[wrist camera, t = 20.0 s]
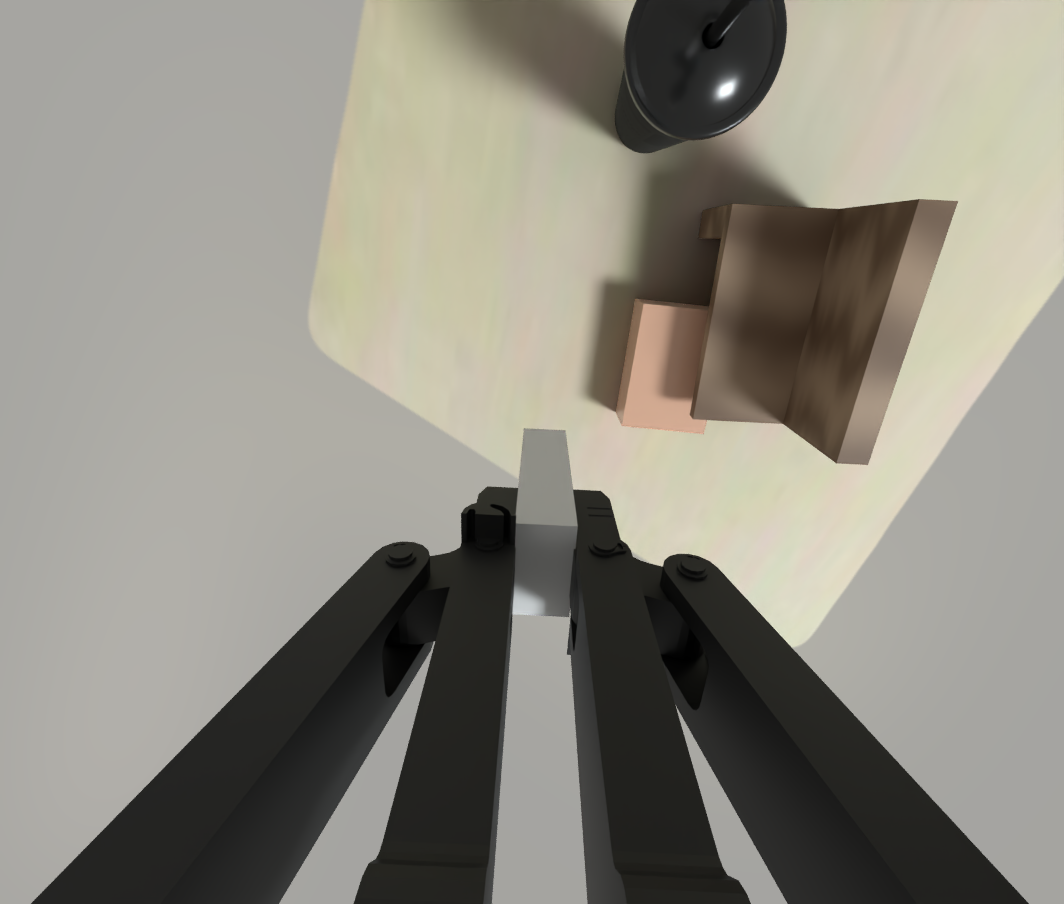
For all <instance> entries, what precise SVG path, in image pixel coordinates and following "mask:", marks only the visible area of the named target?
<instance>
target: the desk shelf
mask: <svg viewBox="0 0 1064 904" xmlns="http://www.w3.org/2000/svg"><path fill="white" fill-rule="evenodd" d="M957 203H958V201H943V200H923V199H918V200H910V201H902V202H893V203H885V204H877V205H869V206H860V207H852V208H844V209H827V208H807V207H787V206H767V205H748V204H729V205H725V206H720V207H715V208H711V209H706V210H703V212H702V218H701V225H700V231H699V237H698V238H706V239H721V243H720V249H719V254H718V260H717V266H716V271H715V277H714V282H713V288H712V293H711V299H710V304H709V310H708V316H707V321H706V327H705V332H704V338H703V343H702V349H701V354H700V360H699V366H698V371H697V377H696V382H695V388H694V393H693V399H692V404H691V410H690V416H691V417H692V419H697V420H717V421H737V422H758V423H778V424H784V425H785V426H787V427H788V428H789V429H791V430H792V431H794V432H795V433H796V434H798V435H799V436H800V437H802V438H803V439H804V440H806V441H807V442H808V443H810V444H811V445H812V446H814V447H815V448H816V449H818V450H819V451H821V452H822V453H823V454H825V455H826V456H827V457H829V458H830V459H831V460H833V461H834V462H835V463H842V464H862V465H868V463H869V460H870V457H871V454H872V451H873V448H874V445H875V442H876V439H877V436H878V433H879V431H880V428H881V425H882V422H883V419H884V416H885V413H886V410H887V407H888V404H889V401H890V398H891V396H892V393H893V390H894V387H895V384H896V381H897V378H898V375H899V372H900V369H901V366H902V363H903V360H904V358H905V355H906V352H907V349H908V346H909V343H910V340H911V337H912V334H913V331H914V328H915V325H916V323H917V320H918V317H919V314H920V311H921V308H922V305H923V302H924V299H925V296H926V293H927V290H928V287H929V285H930V282H931V279H932V276H933V273H934V270H935V267H936V264H937V261H938V258H939V255H940V252H941V250H942V247H943V244H944V241H945V238H946V235H947V232H948V229H949V226H950V223H951V220H952V217H953V214H954V212H955V209H956V206H957Z"/></svg>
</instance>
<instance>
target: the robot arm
mask: <svg viewBox="0 0 1064 904" xmlns="http://www.w3.org/2000/svg"><path fill="white" fill-rule="evenodd" d="M461 534H462V543H461V547H460V548H458V549H457V550H455V551H452V552H450V553H446V554H441V555H435V556H430V555H429V551H428V550H427V549H426V548H425V547H424V546H423V545H420V544H417V543H414V542H397V543H392V544H389V545H387V546H384V547H382V548H381V549H379V550H378V551H376V552H375V553H374V554H373V555H372V556H371V557H370V558H369V559H368V560H367V561H366V562H365V563H364V564H363V566H362V567H361V568H360V569H359V570H358V571H357V572H356V573H355V574H354V575H353V576H352V577H351V578H350V579H349V580H348V581H347V582H346V583H345V584H344V585H343V586H342V587H341V588H340V589H339V590H338V591H337V592H336V593H335V594H334V595H333V596H332V597H331V598H330V599H329V600H328V601H327V602H326V603H325V604H324V605H323V606H322V607H321V608H320V609H319V610H318V611H317V612H316V613H315V615H313V616H312V617H311V619H310V620H309V621H308V622H307V623H306V624H305V625H304V626H303V627H302V628H301V629H300V630H299V631H298V632H297V633H296V634H295V635H294V636H293V637H292V638H291V639H290V640H289V641H288V642H287V643H286V644H285V645H284V646H283V647H282V648H281V649H280V650H279V651H278V652H277V653H276V654H275V655H274V656H273V657H272V658H271V659H270V660H269V661H268V662H267V664H265V666H263V667H262V669H261V670H260V671H259V672H258V673H257V674H256V675H255V676H254V677H253V678H252V679H251V680H250V681H249V682H248V683H247V684H246V685H245V686H244V687H243V688H242V689H241V690H240V691H239V692H238V693H237V694H236V695H235V696H234V697H233V698H232V699H231V700H230V701H229V702H228V703H227V704H226V705H225V706H224V707H223V708H222V709H221V711H220V712H218V713H217V714H216V715H215V717H213V718H212V720H211V721H210V722H209V723H208V724H207V725H206V726H205V727H204V728H203V729H202V730H201V731H200V732H199V733H198V734H197V735H196V736H195V737H194V738H193V739H192V740H191V741H190V742H189V743H188V744H187V745H186V746H185V747H184V748H183V749H182V750H181V751H180V752H179V753H178V754H177V755H176V756H175V757H174V758H173V759H172V760H171V761H170V762H169V763H168V764H167V765H166V766H165V768H164V769H163V770H162V771H161V772H160V773H159V774H158V775H157V776H156V777H155V778H154V779H153V780H152V781H151V782H150V783H149V784H148V785H147V786H146V787H145V788H144V789H143V790H142V791H141V792H140V793H139V794H138V795H137V796H136V797H135V798H134V799H133V800H132V801H131V802H130V803H129V804H128V805H127V806H126V807H125V809H123V810H122V812H121V813H119V814H118V815H117V816H116V818H115V819H114V820H113V821H112V822H111V823H110V824H109V825H108V826H107V827H106V828H105V829H104V830H103V831H102V832H101V833H100V834H99V835H98V836H97V837H96V838H95V839H94V840H93V841H92V842H91V843H90V844H89V845H88V846H87V847H86V848H85V849H84V850H83V851H82V852H81V853H80V854H79V855H78V856H77V857H76V858H75V859H74V860H73V861H72V863H70V864H69V865H68V866H67V867H66V869H64V871H63V872H62V873H61V874H60V875H59V876H58V877H57V878H56V879H55V880H54V881H53V882H52V883H51V884H50V885H49V886H48V887H47V888H46V889H45V890H44V891H43V892H42V893H41V894H40V895H39V896H38V897H37V898H36V899H35V900H34V901H33V902H32V903H31V904H279V902H280V901H281V899H282V897H283V896H284V894H285V892H286V891H287V889H288V887H289V886H290V884H291V882H292V881H293V879H294V877H295V876H296V874H297V872H298V871H299V869H300V867H301V866H302V864H303V862H304V861H305V859H306V857H307V856H308V854H309V852H310V851H311V849H312V847H313V846H314V844H315V842H316V841H317V839H318V837H319V836H320V834H321V832H322V831H323V829H324V827H325V826H326V824H327V822H328V821H329V819H330V817H331V816H332V814H333V812H334V811H335V809H336V807H337V806H338V804H339V802H340V801H341V799H342V797H343V796H344V794H345V792H346V791H347V789H348V787H349V786H350V784H351V782H352V780H353V779H354V777H355V776H356V774H357V772H358V771H359V769H360V767H361V765H362V764H363V762H364V761H365V759H366V757H367V756H368V754H369V752H370V751H371V749H372V747H373V745H374V744H375V742H376V741H377V739H378V737H379V736H380V734H381V732H382V731H383V729H384V727H385V726H386V724H387V722H388V721H389V719H390V717H391V716H392V714H393V712H394V711H395V709H396V707H397V706H398V704H399V702H400V701H401V699H402V697H403V696H404V694H405V692H406V691H407V689H408V687H409V686H410V684H411V682H412V681H413V679H414V677H415V676H416V674H417V672H418V671H419V669H420V667H421V666H422V664H423V662H424V661H425V659H426V657H427V656H428V654H429V652H430V651H431V648H432V645H433V641H435V645H434V649H433V653H432V657H431V660H430V664H429V668H428V672H427V676H426V679H425V684H424V687H423V691H422V695H421V698H420V702H419V706H418V710H417V713H416V717H415V721H414V725H413V729H412V733H411V736H410V740H409V744H408V748H407V751H406V755H405V759H404V763H403V767H402V771H401V774H400V778H399V782H398V786H397V789H396V793H395V797H394V801H393V805H392V808H391V812H390V816H389V820H388V823H387V827H386V832H385V835H384V839H383V842H382V846H381V849H380V852H379V854H378V856H377V858H376V859H375V860H373V861H372V862H370V863H369V864H368V866H367V868H366V870H365V872H364V875H363V876H362V880H361V882H360V885H359V889H358V892H357V895H356V898H355V901H354V904H492V892H493V878H494V865H495V851H496V837H497V824H498V810H499V796H500V782H501V769H502V755H503V742H504V728H505V714H506V701H507V700H506V699H507V687H508V674H509V660H510V647H511V646H510V645H511V633H512V614H519V615H541V616H561V617H569V612H570V610H571V618H570V628H569V639H568V649H567V654H568V655H571V665H572V679H573V694H574V709H575V724H576V738H577V753H578V767H579V783H580V797H581V812H582V826H583V842H584V856H585V869H586V870H585V871H586V885H587V900H588V904H751V903H750V901H749V898H748V895H747V894H746V892H745V890H744V889H743V887H742V885H741V884H740V882H739V881H738V880H736V879H734V878H732V877H730V876H728V875H727V874H726V872H725V870H724V869H723V867H722V864H721V861H720V859H719V856H718V852H717V848H716V845H715V841H714V838H713V835H712V831H711V828H710V824H709V821H708V817H707V814H706V810H705V807H704V804H703V800H702V796H701V793H700V789H699V786H698V782H697V779H696V776H695V772H694V769H693V765H692V762H691V758H690V755H689V751H688V748H687V744H686V741H685V737H684V734H683V730H682V727H681V723H680V720H679V716H678V713H677V709H676V706H677V708H678V710H679V712H680V713H681V715H682V717H683V719H684V721H685V722H686V724H687V726H688V728H689V729H690V731H691V733H692V735H693V737H694V738H695V740H696V742H697V744H698V745H699V747H700V749H701V751H702V752H703V754H704V756H705V758H706V760H707V761H708V763H709V765H710V767H711V768H712V770H713V772H714V774H715V775H716V777H717V779H718V781H719V782H720V784H721V786H722V788H723V790H724V792H725V793H726V795H727V797H728V798H729V800H730V802H731V804H732V806H733V807H734V809H735V811H736V813H737V815H738V816H739V818H740V820H741V822H742V823H743V825H744V827H745V829H746V831H747V832H748V834H749V836H750V838H751V839H752V841H753V843H754V845H755V846H756V848H757V850H758V852H759V854H760V855H761V857H762V859H763V861H764V862H765V864H766V866H767V868H768V870H769V871H770V873H771V875H772V877H773V878H774V880H775V882H776V884H777V886H778V887H779V889H780V891H781V893H782V894H783V896H784V898H785V900H786V901H787V903H788V904H1029V903H1028V902H1027V901H1026V900H1025V899H1024V898H1023V897H1022V896H1021V895H1020V894H1019V893H1018V891H1017V890H1016V889H1015V888H1014V887H1013V886H1012V885H1011V884H1010V883H1009V882H1008V881H1007V880H1006V879H1005V877H1004V876H1003V875H1002V874H1001V873H1000V872H999V871H998V870H997V869H996V868H995V867H994V866H993V864H991V862H990V861H989V860H988V859H987V858H986V857H985V856H984V855H983V854H982V853H981V852H980V850H979V849H978V848H977V847H976V846H975V845H974V844H973V843H972V842H971V841H970V840H969V839H968V838H967V836H966V835H965V834H964V833H963V832H962V831H961V830H960V829H959V828H958V827H957V826H956V825H955V823H954V822H953V821H952V820H951V819H950V818H949V817H948V816H947V815H946V814H945V813H944V812H943V811H942V809H941V808H940V807H939V806H938V805H937V804H936V803H935V802H934V801H933V800H932V799H931V798H930V797H929V795H928V794H927V793H926V792H925V791H924V790H923V789H922V788H921V787H920V786H919V785H918V784H917V782H915V780H914V779H913V778H912V777H911V776H910V775H909V774H908V773H907V772H906V771H905V769H903V767H902V766H901V765H900V764H899V763H898V762H897V761H896V760H895V759H894V758H893V757H892V755H891V754H889V752H888V751H887V750H886V749H885V748H884V747H883V746H882V745H881V744H880V743H879V742H878V741H877V739H876V738H875V737H874V736H873V735H872V734H871V733H870V732H869V731H868V730H867V728H866V727H865V726H864V725H863V724H862V723H861V722H860V721H859V720H858V719H857V718H856V717H855V716H854V714H853V713H852V712H851V711H850V710H849V709H848V708H847V707H846V706H845V705H844V704H843V703H842V701H840V699H839V698H838V697H837V696H836V695H835V694H834V693H833V692H832V691H831V690H830V689H829V687H828V686H827V685H826V684H825V683H824V682H823V681H822V680H821V679H820V678H819V677H818V676H817V674H816V673H815V672H814V671H813V670H812V669H811V668H810V667H809V666H808V665H807V664H806V663H805V662H804V661H803V659H802V658H801V657H800V656H799V655H798V654H797V653H796V652H795V651H794V650H793V649H792V648H791V646H790V645H789V644H788V643H787V642H786V641H785V640H784V639H783V638H782V637H781V636H780V635H779V633H778V632H777V631H776V630H775V629H774V628H773V627H772V626H771V625H770V624H769V623H768V622H767V621H766V619H765V618H764V617H763V616H762V615H761V614H760V613H759V612H758V611H757V610H756V609H755V608H754V606H753V605H752V604H751V603H750V602H749V601H748V600H747V599H746V598H745V597H744V596H743V595H742V594H741V592H740V591H739V590H738V589H737V588H736V587H735V586H734V585H733V584H732V583H731V582H730V581H729V580H728V578H727V577H726V576H725V575H724V574H723V573H722V572H721V571H720V570H719V569H718V568H717V567H716V566H715V565H714V564H712V563H711V562H710V561H708V560H706V559H703V558H701V557H699V556H695V555H691V554H676V555H672V556H669V557H668V558H667V559H666V560H665V561H664V565H663V567H661V566H657V565H653V564H649V563H646V562H643V561H640V560H638V559H636V558H634V557H633V556H632V553H631V550H630V548H629V547H628V545H627V544H626V543H624V542H623V541H621V540H620V536H619V532H618V529H617V525H616V521H615V518H614V514H613V510H612V506H611V503H610V499H609V498H608V497H607V496H606V495H605V494H603V493H602V492H601V491H590V490H573V486H572V478H571V470H570V463H569V455H568V447H567V439H566V431H565V430H545V429H525V428H524V433H523V444H522V454H521V465H520V475H519V486H518V488H505V487H504V488H503V487H486V488H485V489H484V490H483V491H482V492H481V493H480V494H479V496H478V499H477V503H475V504H471V505H470V506H468V507H466V508H465V509H464V510H463V512H462V513H461ZM675 705H676V706H675Z"/></svg>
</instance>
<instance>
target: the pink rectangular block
mask: <svg viewBox="0 0 1064 904" xmlns="http://www.w3.org/2000/svg"><path fill="white" fill-rule="evenodd" d="M708 310H709V306H701V305H692V304H682V303H672V302H663V301H653V300H644V299H635V303H634V309H633V315H632V320H631V326H630V332H629V338H628V344H627V350H626V355H625V361H624V367H623V373H622V379H621V384H620V390H619V396H618V402H617V408H616V414H617V416H618V418H619V421H620V423H621V425H622V426H628V427H638V428H648V429H658V430H668V431H679V432H689V433H699V434H704V430H705V426H706V422H707V420H697V419H692V417H691V416H690V410H691V404H692V399H693V393H694V388H695V382H696V377H697V371H698V366H699V360H700V354H701V349H702V343H703V338H704V332H705V327H706V321H707V316H708Z"/></svg>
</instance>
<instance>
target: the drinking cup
mask: <svg viewBox="0 0 1064 904" xmlns="http://www.w3.org/2000/svg"><path fill="white" fill-rule="evenodd" d="M786 34H787V18H786V9H785V3H784V0H636V3H635V5H634V7H633V10H632V12H631V16H630V19H629V22H628V26H627V30H626V35H625V42H624V71H623V76H622V81H621V86H620V91H619V96H618V101H617V106H616V111H615V125H616V129H617V133H618V135H619V137H620V139H621V140H622V142H623V143H624V144H625V145H626V146H627V147H628V148H630V149H631V150H633V151H635V152H638V153H652V152H655V151H658V150H661V149H664V148H667V147H670V146H673V145H676V144H678V143H681V142H684V141H687V140H692V141H695V140H704V139H709V138H712V137H716V136H718V135H721V134H723V133H725V132H727V131H729V130H731V129H732V128H734V127H735V126H737V125H738V124H740V123H741V122H742V121H743V120H745V119H746V118H747V117H748V116H749V115H750V114H751V113H752V112H753V111H754V110H755V109H756V108H757V107H758V106H759V104H760V103H761V102H762V100H763V99H764V98H765V96H766V94H767V93H768V91H769V90H770V88H771V86H772V84H773V82H774V80H775V78H776V76H777V73H778V71H779V68H780V65H781V62H782V58H783V54H784V49H785V43H786Z"/></svg>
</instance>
